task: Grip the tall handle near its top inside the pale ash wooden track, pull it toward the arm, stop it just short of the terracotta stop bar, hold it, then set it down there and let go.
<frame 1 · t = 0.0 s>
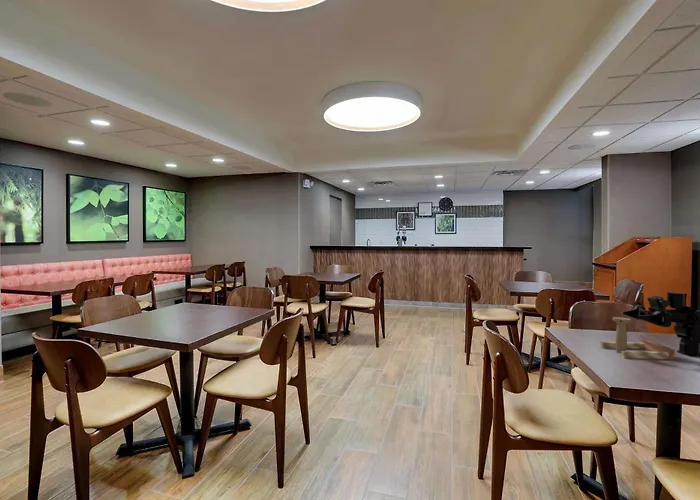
hand: (630, 315, 159), 17 cm above the table, tool horizontal, fingers open, 9 cm apart
handle: (620, 352, 159), on the table
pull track: (635, 352, 159), on the table
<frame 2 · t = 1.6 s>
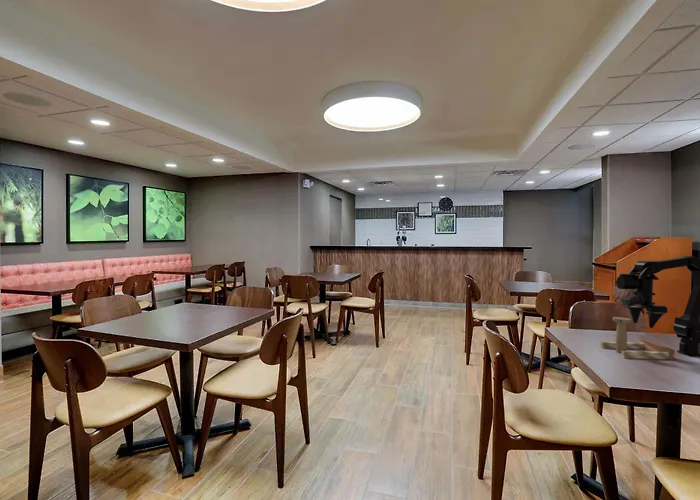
hand: (642, 325, 159), 12 cm above the table, tool pointing down, fingers open, 9 cm apart
nothing on the table moved.
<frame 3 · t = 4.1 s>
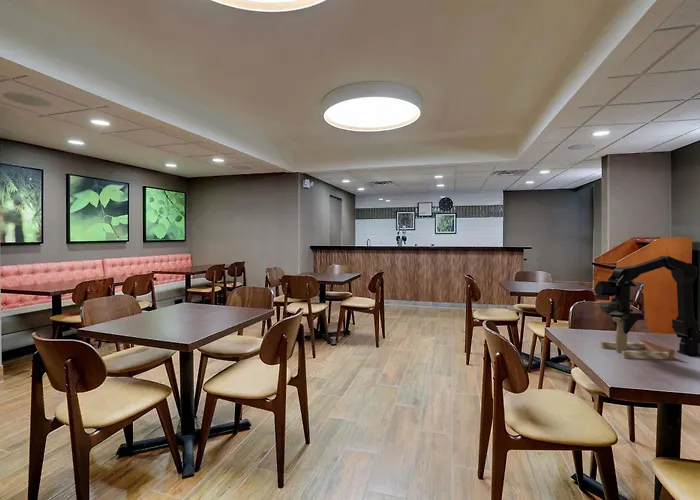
hand: (621, 332, 159), 9 cm above the table, tool pointing down, fingers closed on handle, 5 cm apart
handle: (620, 352, 159), on the table, touching gripper
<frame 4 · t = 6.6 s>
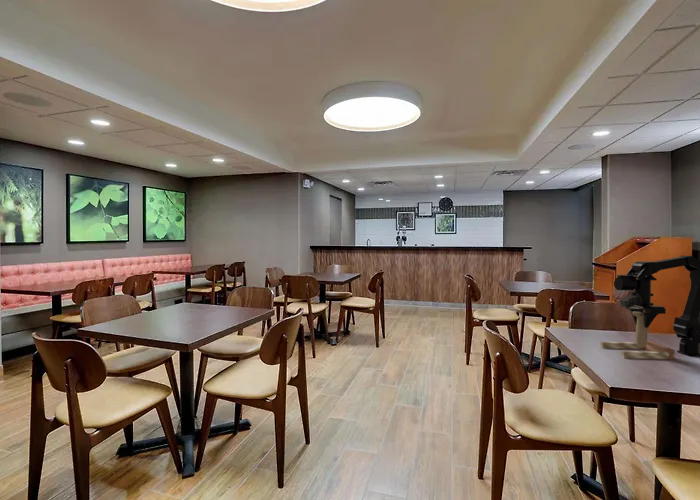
hand: (641, 326, 159), 12 cm above the table, tool pointing down, fingers closed on handle, 5 cm apart
handle: (641, 347, 159), point 3 cm above the table, touching gripper
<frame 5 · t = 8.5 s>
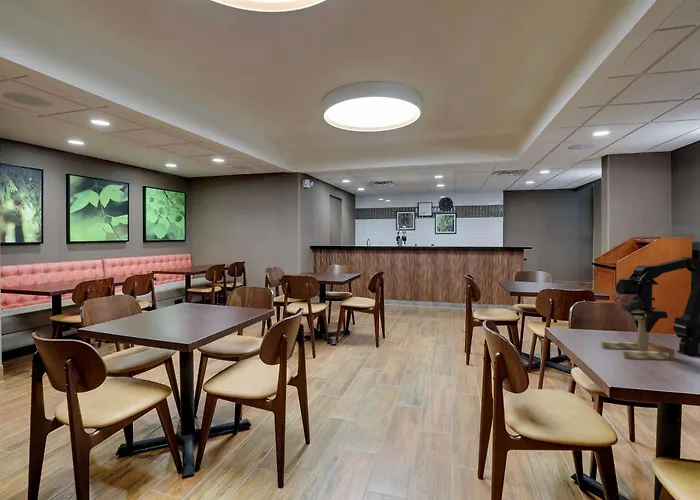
hand: (643, 330, 159), 10 cm above the table, tool pointing down, fingers closed on handle, 5 cm apart
handle: (642, 351, 159), point 1 cm above the table, touching gripper
when the fingers open (10 cm above the table, at t = 9.1 s): handle stays where it is, on the table.
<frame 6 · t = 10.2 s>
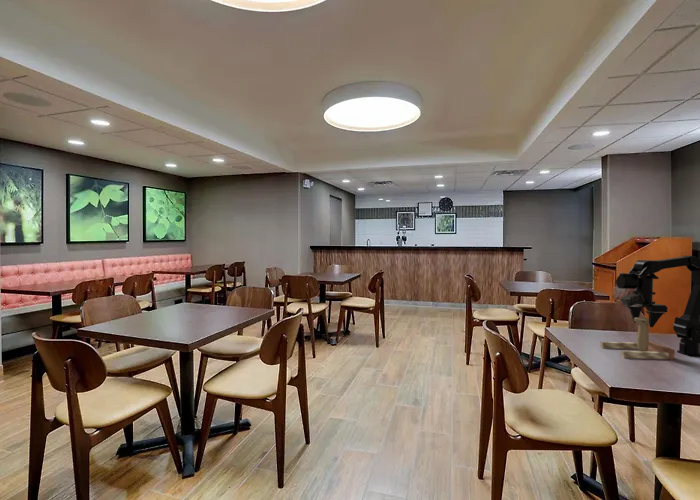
hand: (643, 324, 159), 12 cm above the table, tool pointing down, fingers open, 9 cm apart
handle: (642, 353, 159), on the table
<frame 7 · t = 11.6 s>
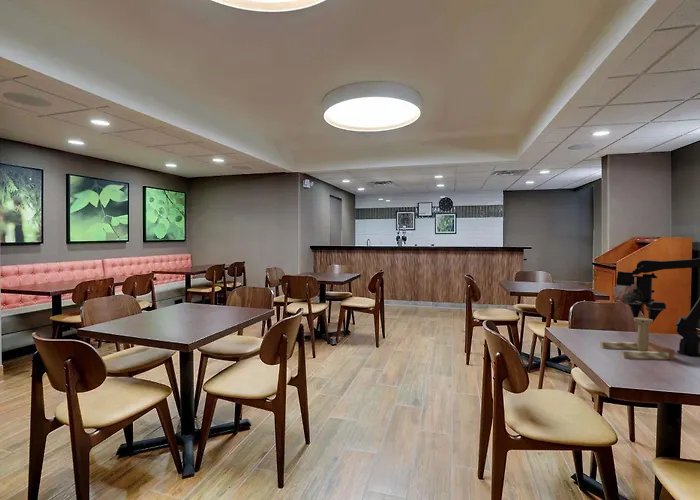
hand: (642, 321, 168), 12 cm above the table, tool pointing down, fingers open, 9 cm apart
nothing on the table moved.
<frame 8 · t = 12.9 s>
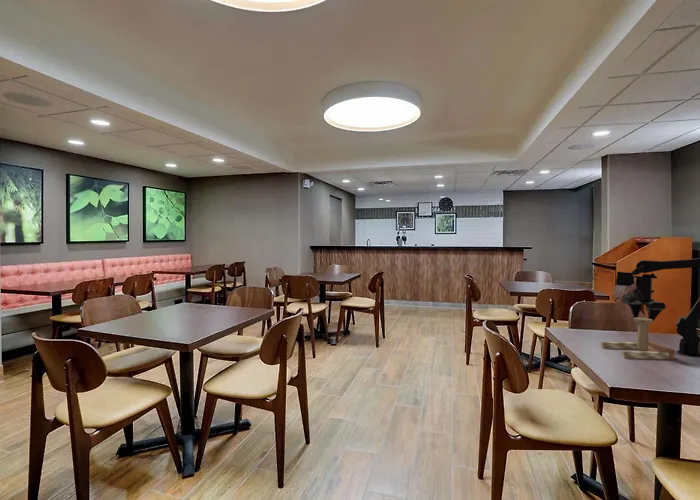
hand: (642, 321, 168), 12 cm above the table, tool pointing down, fingers open, 9 cm apart
nothing on the table moved.
at the end: handle 0.1 cm from the target spot, on the table; handle touching table; handle tilted 0° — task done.
